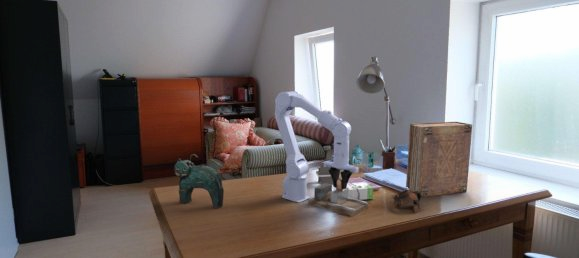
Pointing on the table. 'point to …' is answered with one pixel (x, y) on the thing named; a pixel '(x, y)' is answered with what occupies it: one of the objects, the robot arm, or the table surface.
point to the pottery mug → (404, 197)
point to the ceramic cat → (198, 181)
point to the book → (438, 158)
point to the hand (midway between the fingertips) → (340, 187)
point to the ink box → (360, 191)
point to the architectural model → (324, 174)
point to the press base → (346, 208)
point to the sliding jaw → (339, 193)
